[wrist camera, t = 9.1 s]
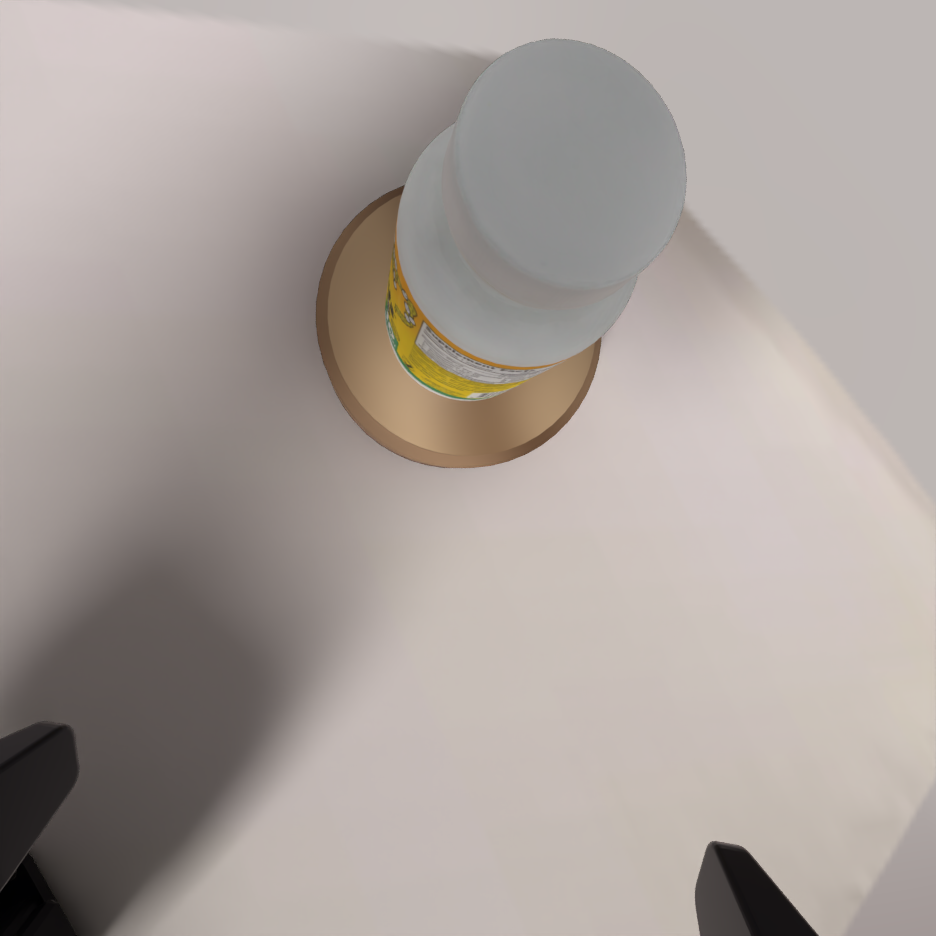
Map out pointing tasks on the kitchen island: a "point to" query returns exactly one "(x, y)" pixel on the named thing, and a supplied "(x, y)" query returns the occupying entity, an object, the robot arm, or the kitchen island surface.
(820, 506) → the kitchen island surface
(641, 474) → the kitchen island surface
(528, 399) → the pedestal
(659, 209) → the supplement bottle
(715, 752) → the kitchen island surface
